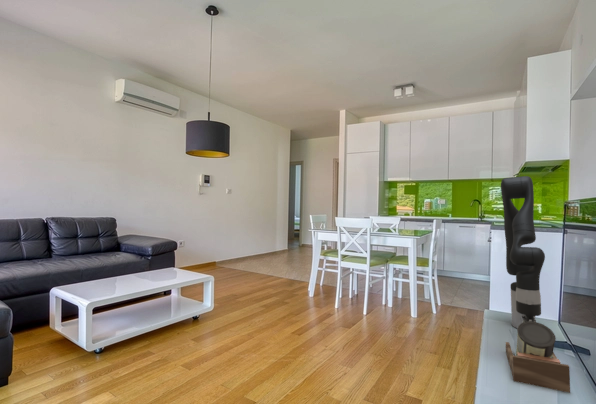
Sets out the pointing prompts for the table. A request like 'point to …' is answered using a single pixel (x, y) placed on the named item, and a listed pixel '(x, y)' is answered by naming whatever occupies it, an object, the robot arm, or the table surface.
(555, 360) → the pusher paddle
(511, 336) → the table surface
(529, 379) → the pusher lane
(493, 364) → the table surface
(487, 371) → the table surface
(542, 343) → the coffee can
